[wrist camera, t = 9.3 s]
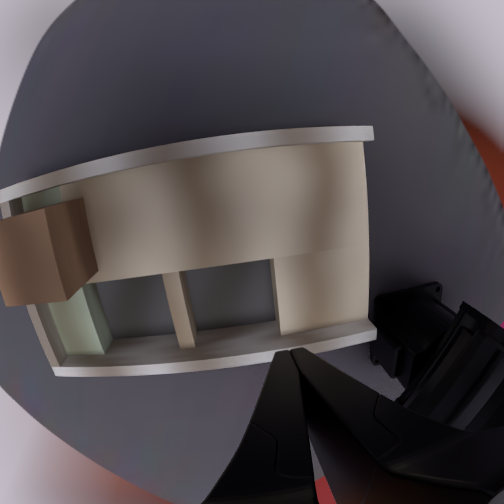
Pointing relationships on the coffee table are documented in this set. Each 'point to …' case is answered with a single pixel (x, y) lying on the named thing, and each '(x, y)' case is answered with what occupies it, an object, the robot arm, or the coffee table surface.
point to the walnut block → (46, 254)
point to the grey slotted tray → (212, 253)
